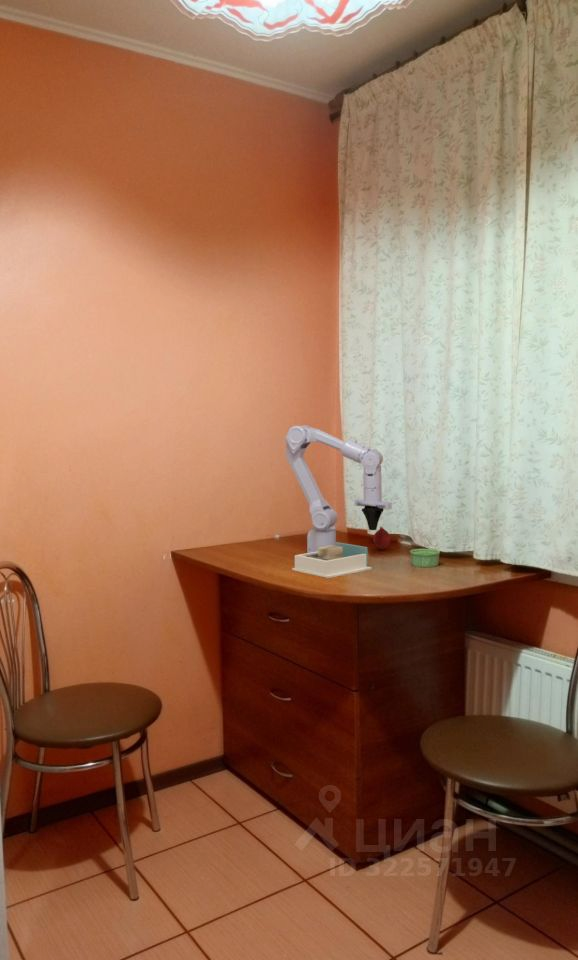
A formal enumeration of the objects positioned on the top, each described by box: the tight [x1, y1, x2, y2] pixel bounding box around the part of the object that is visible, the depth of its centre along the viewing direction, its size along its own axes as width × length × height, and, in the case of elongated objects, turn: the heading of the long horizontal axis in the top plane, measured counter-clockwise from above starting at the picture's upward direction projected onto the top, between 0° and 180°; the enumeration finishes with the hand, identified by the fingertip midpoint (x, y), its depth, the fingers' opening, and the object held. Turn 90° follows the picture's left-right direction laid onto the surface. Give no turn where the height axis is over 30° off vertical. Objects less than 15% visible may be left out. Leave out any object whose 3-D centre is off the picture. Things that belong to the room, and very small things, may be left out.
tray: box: [306, 541, 369, 566], centre depth 226 cm, size 14×13×6 cm
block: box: [318, 545, 343, 560], centre depth 225 cm, size 4×6×5 cm
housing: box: [291, 551, 373, 579], centre depth 225 cm, size 18×16×5 cm
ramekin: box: [409, 548, 441, 568], centre depth 230 cm, size 9×9×4 cm
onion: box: [372, 526, 391, 550], centre depth 257 cm, size 6×6×8 cm
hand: (372, 529), depth 241 cm, fingers closed
